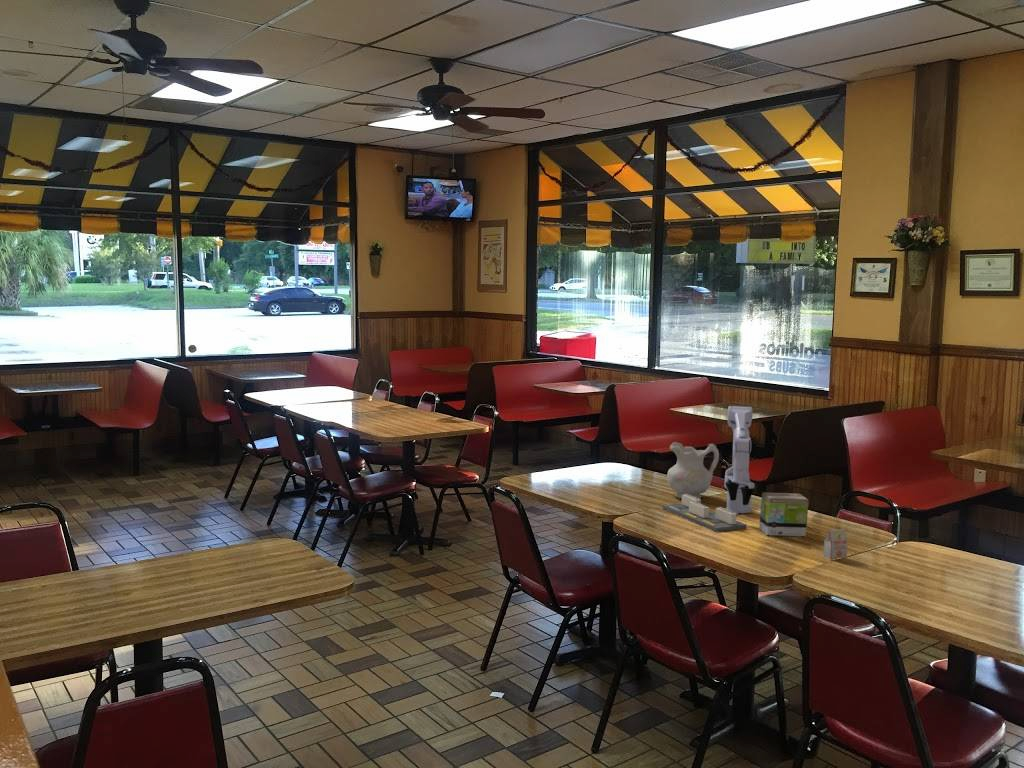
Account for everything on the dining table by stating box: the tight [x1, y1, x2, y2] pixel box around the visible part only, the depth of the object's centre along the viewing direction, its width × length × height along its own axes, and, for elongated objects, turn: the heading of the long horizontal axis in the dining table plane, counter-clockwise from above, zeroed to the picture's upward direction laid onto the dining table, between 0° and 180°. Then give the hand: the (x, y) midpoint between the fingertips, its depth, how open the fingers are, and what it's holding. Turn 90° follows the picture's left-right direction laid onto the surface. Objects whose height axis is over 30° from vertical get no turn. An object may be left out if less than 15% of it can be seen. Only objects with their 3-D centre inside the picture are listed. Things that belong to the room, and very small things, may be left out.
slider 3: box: [714, 506, 738, 524], centre depth 337 cm, size 2×10×5 cm, turn 24°
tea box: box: [759, 492, 810, 537], centre depth 328 cm, size 15×10×15 cm, turn 92°
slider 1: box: [681, 494, 702, 507], centre depth 358 cm, size 2×10×5 cm, turn 24°
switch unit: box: [662, 503, 747, 533], centre depth 347 cm, size 14×36×2 cm, turn 24°
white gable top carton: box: [822, 528, 849, 559], centre depth 299 cm, size 4×7×10 cm, turn 107°
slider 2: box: [689, 501, 710, 518], centre depth 346 cm, size 2×10×5 cm, turn 24°
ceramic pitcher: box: [666, 441, 720, 500], centre depth 382 cm, size 22×20×25 cm
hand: (739, 502), depth 339 cm, fingers open, 7 cm apart
